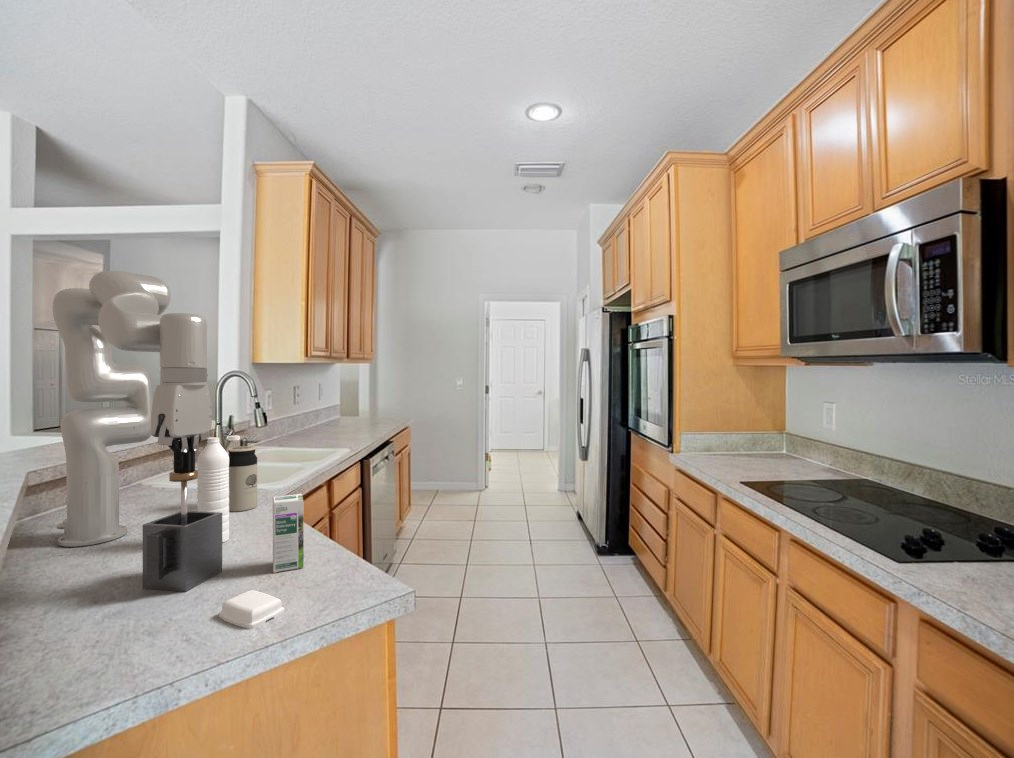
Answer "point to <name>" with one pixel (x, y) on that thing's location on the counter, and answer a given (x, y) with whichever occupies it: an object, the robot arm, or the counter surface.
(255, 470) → the travel mug
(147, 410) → the robot arm
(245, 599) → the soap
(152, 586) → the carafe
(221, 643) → the counter surface
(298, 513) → the syrup box
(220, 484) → the water bottle
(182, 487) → the plunger
